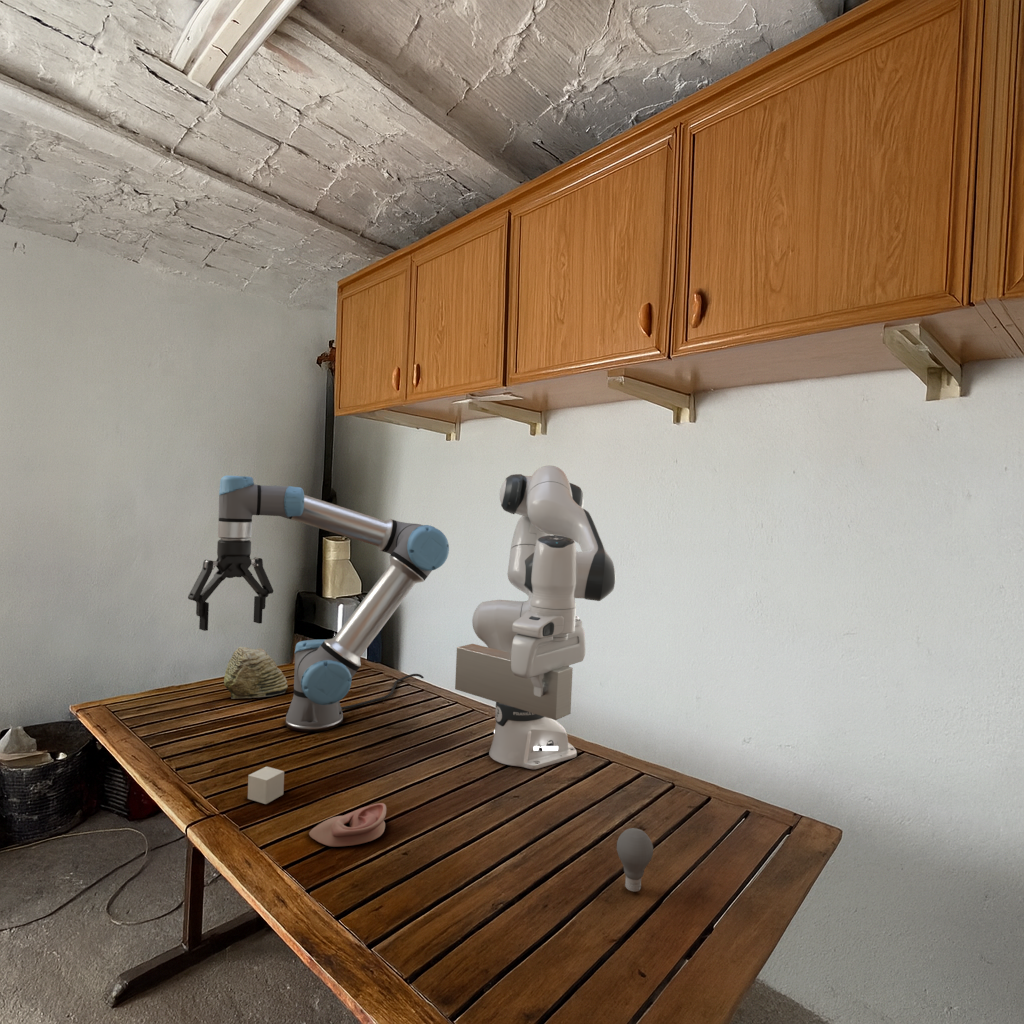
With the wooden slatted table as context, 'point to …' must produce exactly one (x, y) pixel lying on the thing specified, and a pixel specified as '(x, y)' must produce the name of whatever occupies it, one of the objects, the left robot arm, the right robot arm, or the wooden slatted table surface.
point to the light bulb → (634, 856)
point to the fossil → (253, 675)
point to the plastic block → (265, 785)
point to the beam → (511, 682)
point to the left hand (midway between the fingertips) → (231, 626)
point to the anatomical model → (352, 827)
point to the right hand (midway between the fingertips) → (549, 692)
